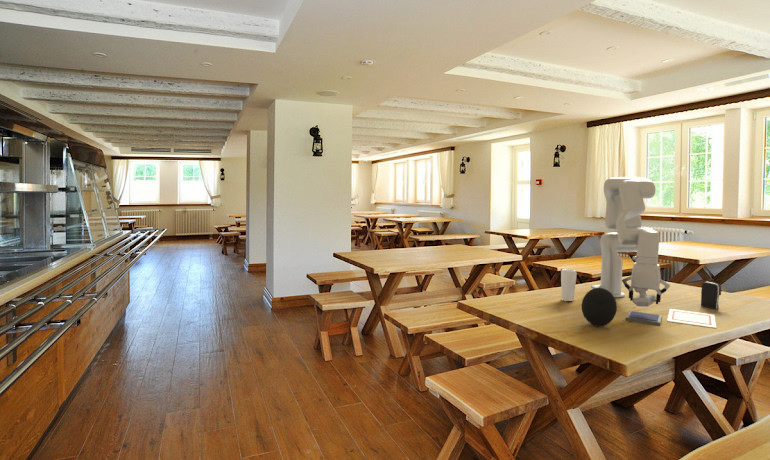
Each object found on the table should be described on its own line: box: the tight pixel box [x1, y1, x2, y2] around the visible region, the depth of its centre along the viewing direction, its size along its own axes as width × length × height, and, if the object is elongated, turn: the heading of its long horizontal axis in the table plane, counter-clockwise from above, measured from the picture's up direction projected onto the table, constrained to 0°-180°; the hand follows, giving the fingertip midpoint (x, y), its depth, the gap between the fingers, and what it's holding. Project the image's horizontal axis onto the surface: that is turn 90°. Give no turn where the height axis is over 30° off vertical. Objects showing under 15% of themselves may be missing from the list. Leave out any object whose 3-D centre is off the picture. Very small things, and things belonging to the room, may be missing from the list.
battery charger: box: [700, 281, 722, 310], centre depth 201 cm, size 7×4×11 cm, turn 21°
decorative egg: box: [581, 288, 618, 327], centre depth 174 cm, size 12×12×15 cm
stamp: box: [631, 287, 656, 308], centre depth 184 cm, size 9×7×8 cm
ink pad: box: [625, 310, 663, 326], centre depth 183 cm, size 12×12×2 cm
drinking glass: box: [560, 268, 577, 302], centre depth 212 cm, size 7×7×15 cm
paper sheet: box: [666, 308, 717, 329], centre depth 184 cm, size 16×22×1 cm
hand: (644, 301), depth 183 cm, fingers closed on stamp, 8 cm apart
